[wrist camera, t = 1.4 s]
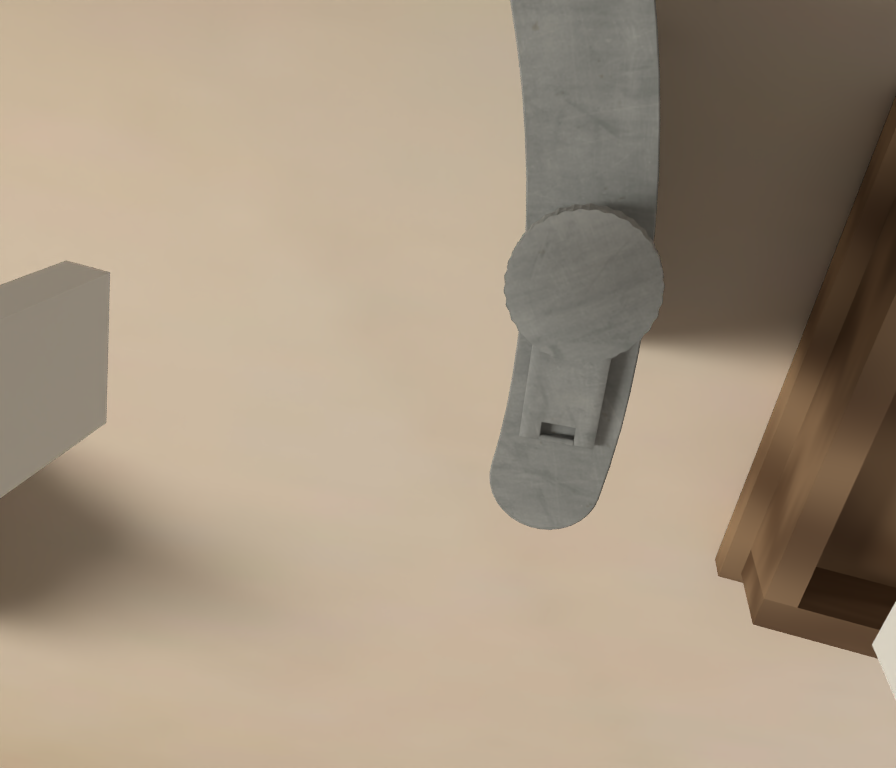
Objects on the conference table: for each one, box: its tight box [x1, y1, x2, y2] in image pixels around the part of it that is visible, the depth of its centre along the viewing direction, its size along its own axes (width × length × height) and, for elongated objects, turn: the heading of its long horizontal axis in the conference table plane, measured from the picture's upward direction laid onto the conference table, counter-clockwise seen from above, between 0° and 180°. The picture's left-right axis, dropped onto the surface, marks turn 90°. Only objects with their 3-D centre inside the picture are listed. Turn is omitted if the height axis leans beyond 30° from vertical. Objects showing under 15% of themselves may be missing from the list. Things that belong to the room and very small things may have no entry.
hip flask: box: [490, 0, 665, 530], centre depth 27 cm, size 16×4×20 cm, turn 179°
